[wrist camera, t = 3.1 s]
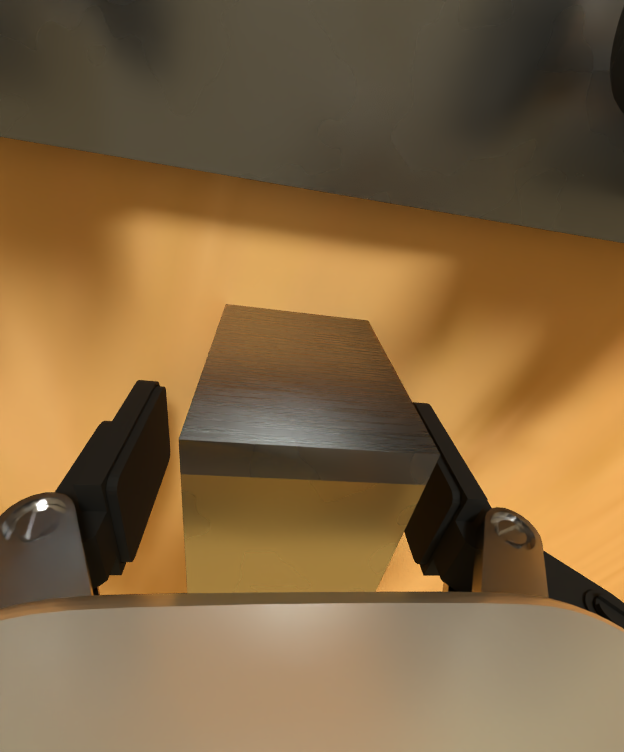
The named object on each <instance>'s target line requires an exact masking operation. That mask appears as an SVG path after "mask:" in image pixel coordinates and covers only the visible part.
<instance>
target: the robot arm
mask: <svg viewBox="0 0 624 752" xmlns="http://www.w3.org/2000/svg"><path fill="white" fill-rule="evenodd" d="M412 403H413V405H414V407H415V409H416V411H417V412H418V414H419V416H420V418H421V420H422V422H423V424H424V425H425V427H426V429H427V431H428V433H429V435H430V437H431V438H432V440H433V442H434V444H435V446H436V448H437V450H438V451H439V453H440V456H439V459H438V461H437V463H436V465H435V467H434V469H433V471H432V473H431V475H430V478H429V480H428V482H427V484H426V486H425V488H424V490H423V492H422V494H421V497H420V499H419V501H418V503H417V505H416V507H415V509H414V511H413V513H412V516H411V518H410V520H409V522H408V524H407V526H406V528H405V530H404V532H405V535H406V538H407V541H408V544H409V547H410V550H411V553H412V556H413V559H414V561H415V562H416V563H417V564H420V567H421V569H422V572H423V575H440V578H441V580H442V581H443V582H444V584H443V591H442V592H254V593H166V594H127V595H100V592H99V587H98V586H100V585H101V584H103V583H104V582H106V581H107V580H108V578H109V575H122V572H123V570H124V567H125V564H126V562H132V561H133V560H134V558H135V556H136V553H137V550H138V547H139V544H140V542H141V539H142V536H143V533H144V530H145V527H146V525H147V522H148V519H149V516H150V513H151V511H152V508H153V505H154V502H155V499H156V496H157V494H158V491H159V488H160V485H161V482H162V479H163V477H164V474H165V471H166V468H167V465H168V462H169V459H170V439H169V426H168V412H167V398H166V389H165V387H160V385H159V382H156V381H144V380H138V381H137V382H136V384H135V385H134V387H133V388H132V390H131V392H130V393H129V395H128V397H127V398H126V400H125V401H124V403H123V405H122V406H121V408H120V409H119V411H118V413H117V414H116V416H115V417H114V419H113V421H103V422H102V423H101V424H100V425H99V426H98V428H97V429H96V431H95V432H94V434H93V435H92V437H91V438H90V440H89V441H88V443H87V444H86V446H85V447H84V449H83V450H82V452H81V453H80V455H79V456H78V458H77V459H76V461H75V462H74V464H73V465H72V467H71V469H70V470H69V472H68V473H67V475H66V476H65V478H64V479H63V481H62V482H61V484H60V485H59V487H58V488H57V490H56V491H55V492H46V493H41V494H36V495H33V496H30V497H28V498H25V499H23V500H21V501H19V502H17V503H16V504H14V505H12V506H11V507H9V508H8V509H7V510H6V511H5V512H4V513H3V514H2V515H1V516H0V752H624V603H623V602H622V601H621V600H619V599H618V598H617V597H615V596H614V595H612V594H611V593H610V592H608V591H606V590H605V589H603V588H602V587H600V586H598V585H597V584H595V583H594V582H592V581H591V580H589V579H587V578H586V577H584V576H583V575H581V574H580V573H578V572H576V571H575V570H573V569H572V568H570V567H568V566H567V565H565V564H564V563H562V562H561V561H559V560H557V559H556V558H554V557H553V556H551V555H549V554H548V553H546V552H545V551H543V545H542V541H541V537H540V535H539V534H538V532H537V530H536V529H535V528H534V527H533V525H532V524H531V523H530V522H529V521H528V520H526V519H525V518H524V517H522V516H521V515H519V514H517V513H516V512H514V511H512V510H509V509H506V508H499V507H496V508H491V506H490V505H489V503H488V501H487V500H488V499H487V498H486V496H485V494H484V493H483V491H482V489H481V488H480V486H479V485H478V483H477V481H476V480H475V478H474V476H473V475H472V473H471V471H470V470H469V468H468V466H467V465H466V463H465V461H464V460H463V458H462V457H461V455H460V453H459V452H458V450H457V448H456V447H455V445H454V443H453V442H452V440H451V438H450V437H449V435H448V434H447V432H446V430H445V429H444V427H443V425H442V424H441V422H440V420H439V419H438V417H437V415H436V414H435V412H434V411H433V409H432V407H431V406H430V405H429V404H427V403H415V402H412Z"/></svg>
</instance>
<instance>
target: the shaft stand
mask: <svg viewBox="0 0 624 752" xmlns="http://www.w3.org/2000/svg"><path fill="white" fill-rule="evenodd" d="M0 137H6V138H12V139H17V140H23V141H29V142H35V143H41V144H47V145H53V146H58V147H64V148H70V149H76V150H82V151H88V152H94V153H99V154H105V155H111V156H117V157H123V158H129V159H134V160H140V161H146V162H152V163H158V164H164V165H170V166H175V167H181V168H187V169H193V170H199V171H205V172H211V173H216V174H222V175H228V176H234V177H240V178H246V179H252V180H257V181H263V182H269V183H275V184H281V185H287V186H293V187H298V188H304V189H310V190H316V191H322V192H328V193H334V194H339V195H345V196H351V197H357V198H363V199H369V200H375V201H380V202H386V203H392V204H398V205H404V206H410V207H416V208H421V209H427V210H433V211H439V212H445V213H451V214H456V215H462V216H468V217H474V218H480V219H486V220H492V221H497V222H503V223H509V224H515V225H521V226H527V227H533V228H538V229H544V230H550V231H556V232H562V233H568V234H574V235H579V236H585V237H591V238H597V239H603V240H609V241H615V242H620V243H624V0H0Z"/></svg>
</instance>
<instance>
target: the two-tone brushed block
mask: <svg viewBox="0 0 624 752" xmlns="http://www.w3.org/2000/svg"><path fill="white" fill-rule="evenodd" d="M179 454H180V472H181V489H182V507H183V525H184V543H185V561H186V579H187V593H254V592H376V589H377V587H378V585H379V583H380V581H381V579H382V577H383V575H384V573H385V570H386V568H387V566H388V564H389V562H390V560H391V558H392V556H393V554H394V551H395V549H396V547H397V545H398V543H399V541H400V539H401V537H402V535H403V532H404V530H405V528H406V526H407V524H408V522H409V520H410V518H411V516H412V513H413V511H414V509H415V507H416V505H417V503H418V501H419V499H420V497H421V494H422V492H423V490H424V488H425V486H426V484H427V482H428V480H429V478H430V475H431V473H432V471H433V469H434V467H435V465H436V463H437V461H438V459H439V456H440V453H439V451H438V450H437V448H436V446H435V444H434V442H433V440H432V438H431V437H430V435H429V433H428V431H427V429H426V427H425V425H424V424H423V422H422V420H421V418H420V416H419V414H418V412H417V411H416V409H415V407H414V405H413V403H412V401H411V399H410V398H409V396H408V394H407V392H406V390H405V388H404V386H403V385H402V383H401V381H400V379H399V377H398V375H397V373H396V372H395V370H394V368H393V366H392V364H391V362H390V360H389V359H388V357H387V355H386V353H385V351H384V349H383V347H382V346H381V344H380V342H379V340H378V338H377V336H376V335H375V333H374V331H373V329H372V327H371V325H370V323H369V322H368V321H365V320H357V319H348V318H340V317H331V316H323V315H314V314H306V313H297V312H288V311H280V310H271V309H263V308H254V307H246V306H237V305H228V304H226V305H225V308H224V311H223V314H222V317H221V320H220V323H219V325H218V328H217V331H216V334H215V337H214V340H213V343H212V345H211V348H210V351H209V354H208V357H207V360H206V363H205V365H204V368H203V371H202V374H201V377H200V380H199V383H198V386H197V388H196V391H195V394H194V397H193V400H192V403H191V406H190V408H189V411H188V414H187V417H186V420H185V423H184V426H183V428H182V431H181V434H180V437H179Z"/></svg>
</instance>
